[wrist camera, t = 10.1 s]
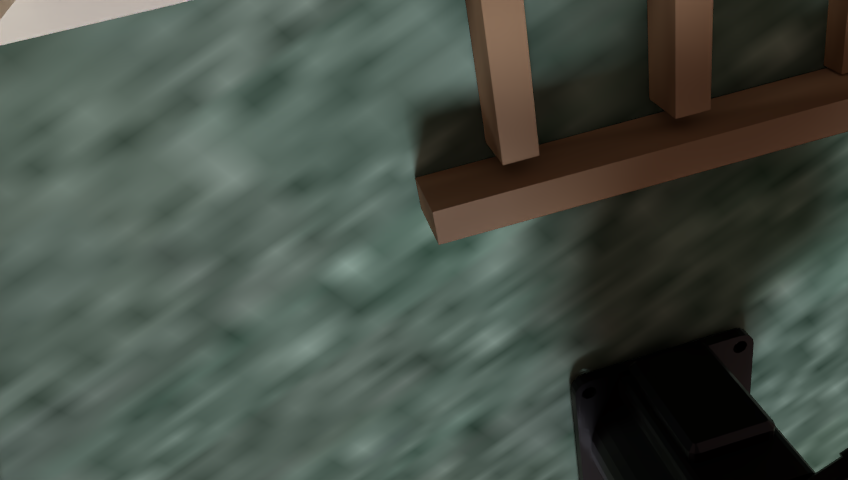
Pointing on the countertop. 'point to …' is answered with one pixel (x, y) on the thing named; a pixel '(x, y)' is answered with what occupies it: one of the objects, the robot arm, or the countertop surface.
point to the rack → (621, 143)
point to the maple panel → (5, 6)
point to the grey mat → (66, 15)
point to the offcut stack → (837, 36)
